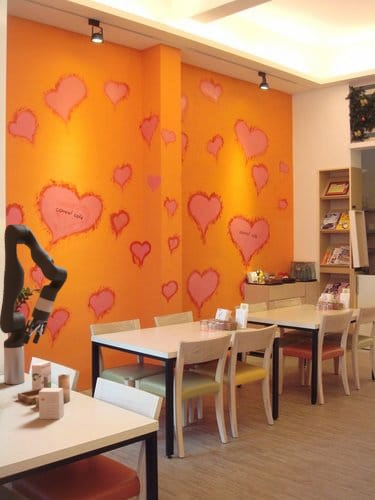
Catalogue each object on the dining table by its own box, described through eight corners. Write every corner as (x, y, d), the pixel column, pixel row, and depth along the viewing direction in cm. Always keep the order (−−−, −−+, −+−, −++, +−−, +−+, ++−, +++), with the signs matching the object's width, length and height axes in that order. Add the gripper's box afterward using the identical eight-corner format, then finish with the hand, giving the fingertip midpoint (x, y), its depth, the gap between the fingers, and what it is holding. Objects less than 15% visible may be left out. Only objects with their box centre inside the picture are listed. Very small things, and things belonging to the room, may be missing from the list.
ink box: (42, 386, 261) (42, 360, 261) (51, 386, 260) (51, 361, 260) (31, 390, 253) (31, 364, 253) (40, 391, 252) (40, 365, 252)
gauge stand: (35, 406, 229) (35, 376, 229) (49, 403, 233) (48, 374, 233) (43, 409, 225) (43, 379, 225) (56, 406, 229) (56, 376, 229)
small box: (64, 414, 217) (63, 387, 217) (59, 419, 212) (59, 391, 211) (44, 414, 218) (43, 387, 218) (38, 419, 212) (38, 391, 212)
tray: (17, 399, 239) (17, 393, 239) (41, 394, 247) (41, 388, 247) (31, 404, 231) (31, 398, 231) (55, 399, 239) (55, 393, 239)
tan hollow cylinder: (56, 401, 236) (56, 375, 236) (65, 399, 239) (65, 373, 239) (62, 403, 233) (62, 376, 233) (71, 401, 236) (71, 374, 236)
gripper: (43, 306, 257) (30, 340, 257) (27, 305, 244) (14, 340, 243) (57, 312, 256) (44, 346, 255) (42, 311, 242) (28, 346, 241)
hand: (29, 343), depth 249 cm, fingers open, 8 cm apart
